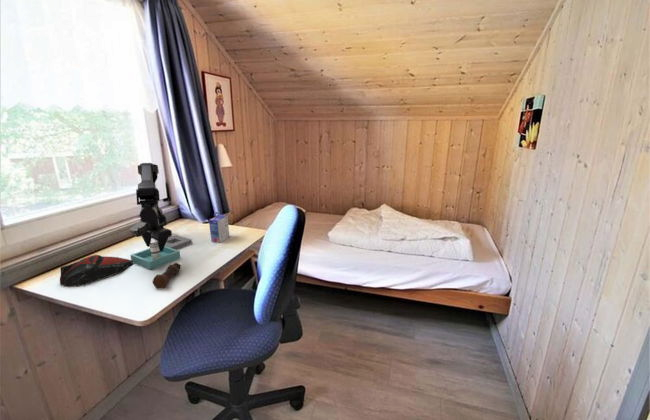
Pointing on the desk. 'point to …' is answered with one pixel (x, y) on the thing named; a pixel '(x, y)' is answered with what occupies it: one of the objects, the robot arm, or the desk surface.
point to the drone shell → (91, 269)
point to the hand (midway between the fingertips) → (154, 248)
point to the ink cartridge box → (219, 228)
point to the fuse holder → (177, 242)
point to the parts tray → (145, 259)
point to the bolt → (166, 276)
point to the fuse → (154, 250)
